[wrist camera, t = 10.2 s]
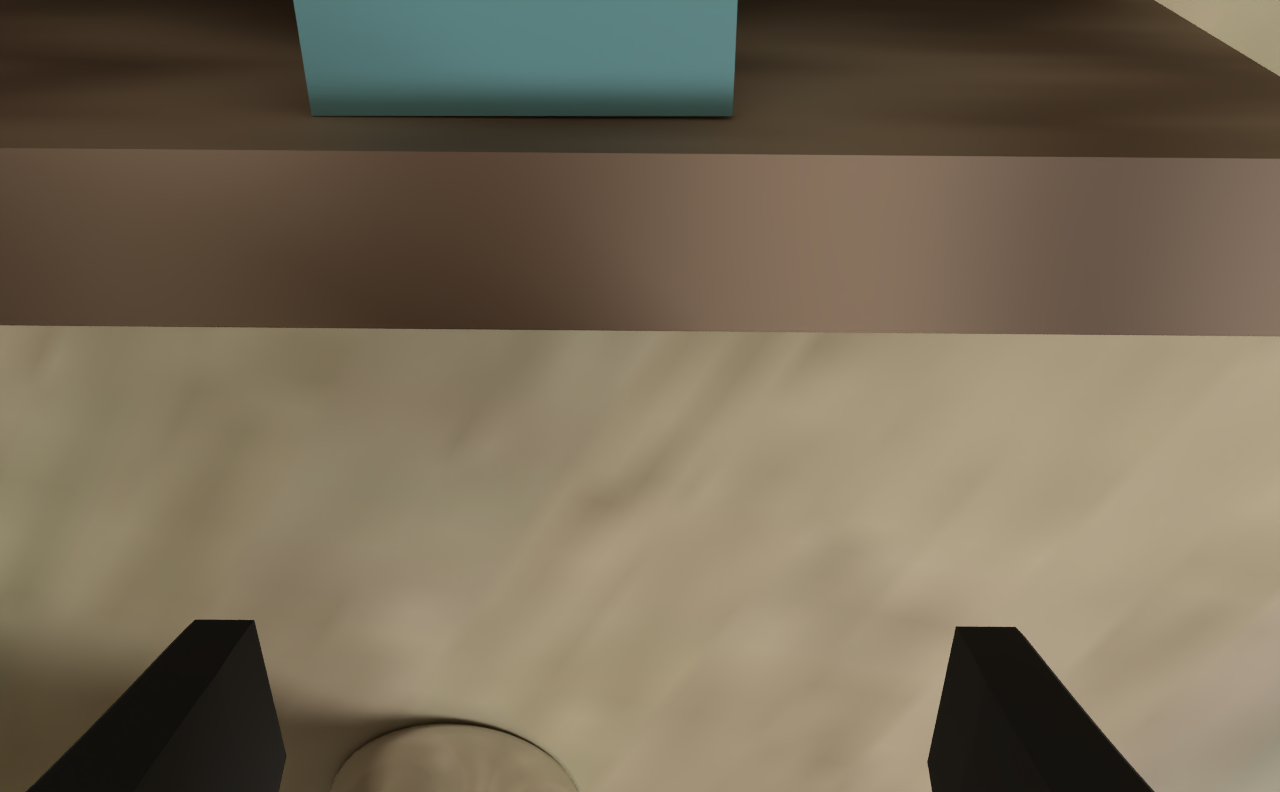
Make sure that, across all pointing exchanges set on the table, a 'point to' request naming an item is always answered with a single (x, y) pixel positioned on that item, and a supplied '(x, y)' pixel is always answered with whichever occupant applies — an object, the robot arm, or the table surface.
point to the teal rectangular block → (518, 57)
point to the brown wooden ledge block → (652, 181)
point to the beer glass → (451, 763)
